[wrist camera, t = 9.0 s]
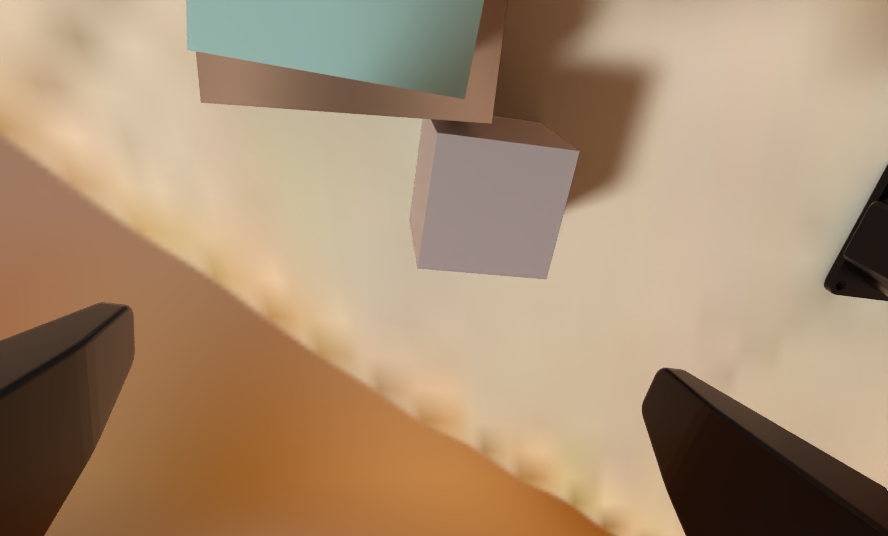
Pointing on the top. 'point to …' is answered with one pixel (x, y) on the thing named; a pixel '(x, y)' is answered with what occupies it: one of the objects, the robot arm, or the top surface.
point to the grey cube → (490, 196)
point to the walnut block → (358, 84)
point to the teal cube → (346, 38)
